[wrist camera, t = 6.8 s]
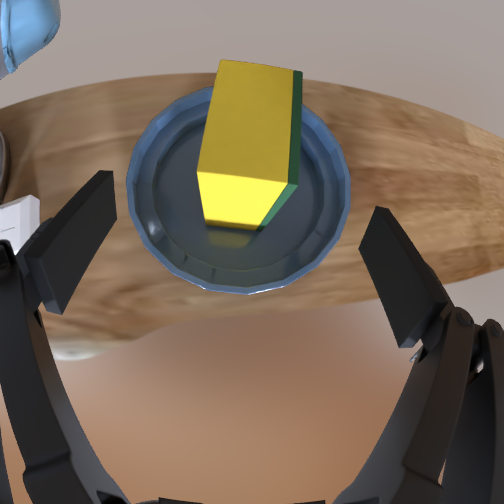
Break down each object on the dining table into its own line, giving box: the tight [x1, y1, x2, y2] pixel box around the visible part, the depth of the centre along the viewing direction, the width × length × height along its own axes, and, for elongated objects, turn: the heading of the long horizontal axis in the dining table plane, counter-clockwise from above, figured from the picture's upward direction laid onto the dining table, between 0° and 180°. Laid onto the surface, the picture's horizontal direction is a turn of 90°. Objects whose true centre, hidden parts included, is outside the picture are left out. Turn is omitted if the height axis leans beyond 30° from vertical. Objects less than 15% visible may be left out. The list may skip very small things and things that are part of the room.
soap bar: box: [0, 195, 40, 255], centre depth 20 cm, size 5×9×3 cm, turn 10°
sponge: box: [197, 60, 303, 232], centre depth 18 cm, size 4×7×11 cm, turn 174°
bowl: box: [126, 86, 350, 294], centre depth 22 cm, size 17×17×4 cm
